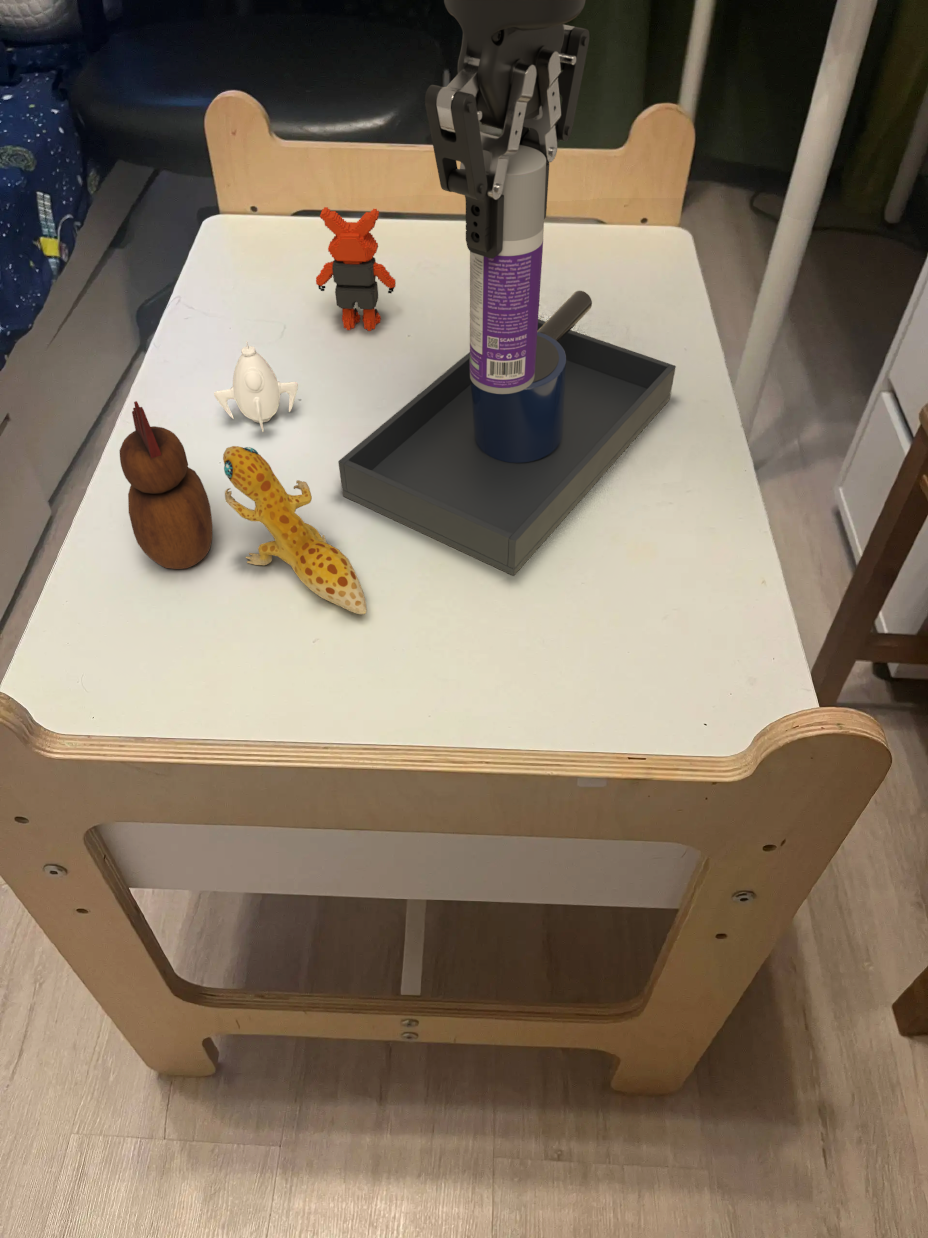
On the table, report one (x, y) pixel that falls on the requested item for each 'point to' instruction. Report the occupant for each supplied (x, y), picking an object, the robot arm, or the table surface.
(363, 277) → the toy animal
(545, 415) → the blue saucepan
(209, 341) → the table surface
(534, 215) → the container
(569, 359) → the tray
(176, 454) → the wooden figurine
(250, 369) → the rocket toy
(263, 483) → the toy
